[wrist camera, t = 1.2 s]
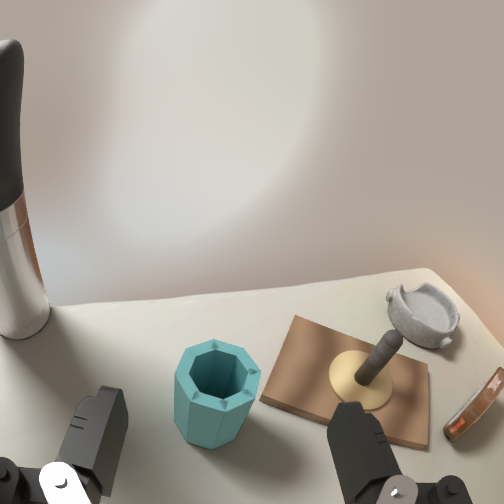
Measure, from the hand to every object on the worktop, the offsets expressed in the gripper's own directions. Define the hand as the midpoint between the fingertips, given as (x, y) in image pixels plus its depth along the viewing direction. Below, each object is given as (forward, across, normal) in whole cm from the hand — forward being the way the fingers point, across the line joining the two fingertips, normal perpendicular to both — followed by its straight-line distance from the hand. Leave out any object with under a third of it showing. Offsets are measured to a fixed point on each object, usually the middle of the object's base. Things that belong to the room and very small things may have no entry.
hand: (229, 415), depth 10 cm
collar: (+13, +1, +18) cm, 22 cm away
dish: (+31, -34, +16) cm, 49 cm away
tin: (+12, -35, +21) cm, 42 cm away
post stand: (+18, -17, +18) cm, 31 cm away
